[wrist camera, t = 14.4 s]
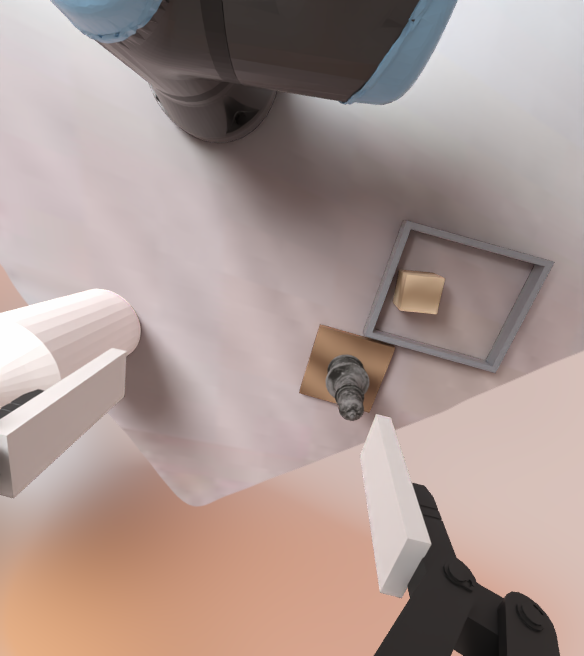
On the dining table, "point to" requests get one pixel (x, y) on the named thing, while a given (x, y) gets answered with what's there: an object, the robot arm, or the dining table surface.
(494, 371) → the tray
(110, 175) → the dining table surface
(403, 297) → the beech block
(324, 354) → the light brown wooden board
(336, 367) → the dark grey chess piece
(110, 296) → the bottle
